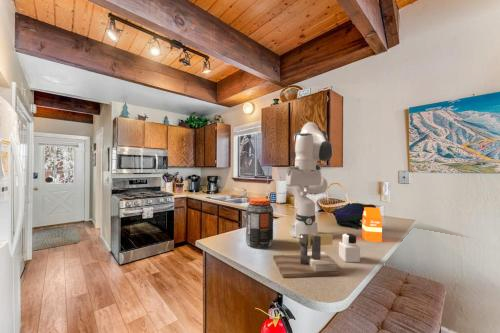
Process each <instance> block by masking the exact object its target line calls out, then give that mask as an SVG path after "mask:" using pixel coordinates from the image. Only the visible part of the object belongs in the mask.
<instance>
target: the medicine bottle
mask: <svg viewBox="0 0 500 333" xmlns="http://www.w3.org/2000/svg"><path fill="white" fill-rule="evenodd" d="M338 257H340V259H342V260H343V262H345V263H361V247H360V246H359V245H357V236H356V235H354V234H352V233H348V232H347V233H343V234H342V242H341V241H340V242H338Z"/></svg>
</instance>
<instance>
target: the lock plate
mask: <svg viewBox="0 0 500 333" xmlns="http://www.w3.org/2000/svg"><path fill="white" fill-rule="evenodd" d="M308 246H309V245H308ZM308 246H303V245H300V254H281V255H280V254H278V255H273V257H272V258H273V261H274V262H275V264H276V267H277V269H278V271H279V273H280V275H281V277H282V278H286V279H287V278H308V277H311V278H312V277H313V278H314V277H331V276H332V277H333V276H339V277H340V275H341V274H340V271H339V270H338V262H336V261H335V260H334V259H333V258H331V256H329V255H328V254H327V253H326V252H325V251H324V250H323V249H321V246H322V245H321V237H320V236H319V235H312V245H311V248H309V247H308Z"/></svg>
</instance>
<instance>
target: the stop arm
mask: <svg viewBox="0 0 500 333" xmlns="http://www.w3.org/2000/svg"><path fill="white" fill-rule="evenodd" d="M312 235H319V236H320V237H321V246H332V245H333V238H334V236H333V234H331V233H318V234H300V238H299V245H300V246H301V245H303V246H312Z"/></svg>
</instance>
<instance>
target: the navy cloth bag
mask: <svg viewBox="0 0 500 333" xmlns="http://www.w3.org/2000/svg"><path fill="white" fill-rule="evenodd" d="M365 207H370V208H377V206H376V205H374V204H373V203H372V204H371V203H370V204H363V203H359V202H352V203H350V202H348V203H347V204H345V205H344V206H342V207H339V208H336V209H334V210H332V215H333V216H334V218H335V221H336V224H337V225H346V226H350V227H352V228H355V229H356V230H359V228H362V224H363V212H364V208H365Z"/></svg>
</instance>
